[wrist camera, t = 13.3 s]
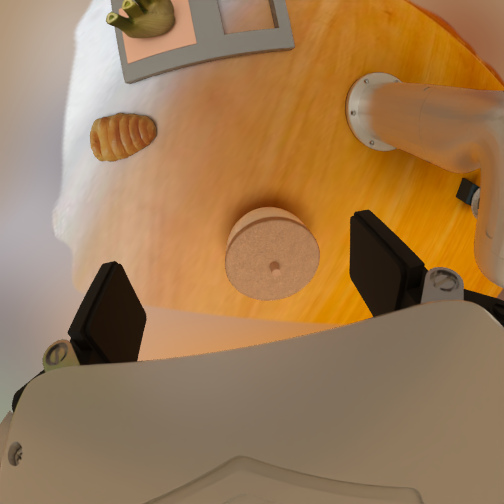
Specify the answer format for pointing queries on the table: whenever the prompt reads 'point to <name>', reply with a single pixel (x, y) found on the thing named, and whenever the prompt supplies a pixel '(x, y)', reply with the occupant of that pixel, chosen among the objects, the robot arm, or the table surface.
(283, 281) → the lidded bowl
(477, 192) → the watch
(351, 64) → the table surface
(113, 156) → the pastry
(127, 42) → the holder board
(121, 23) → the fennel bulb
